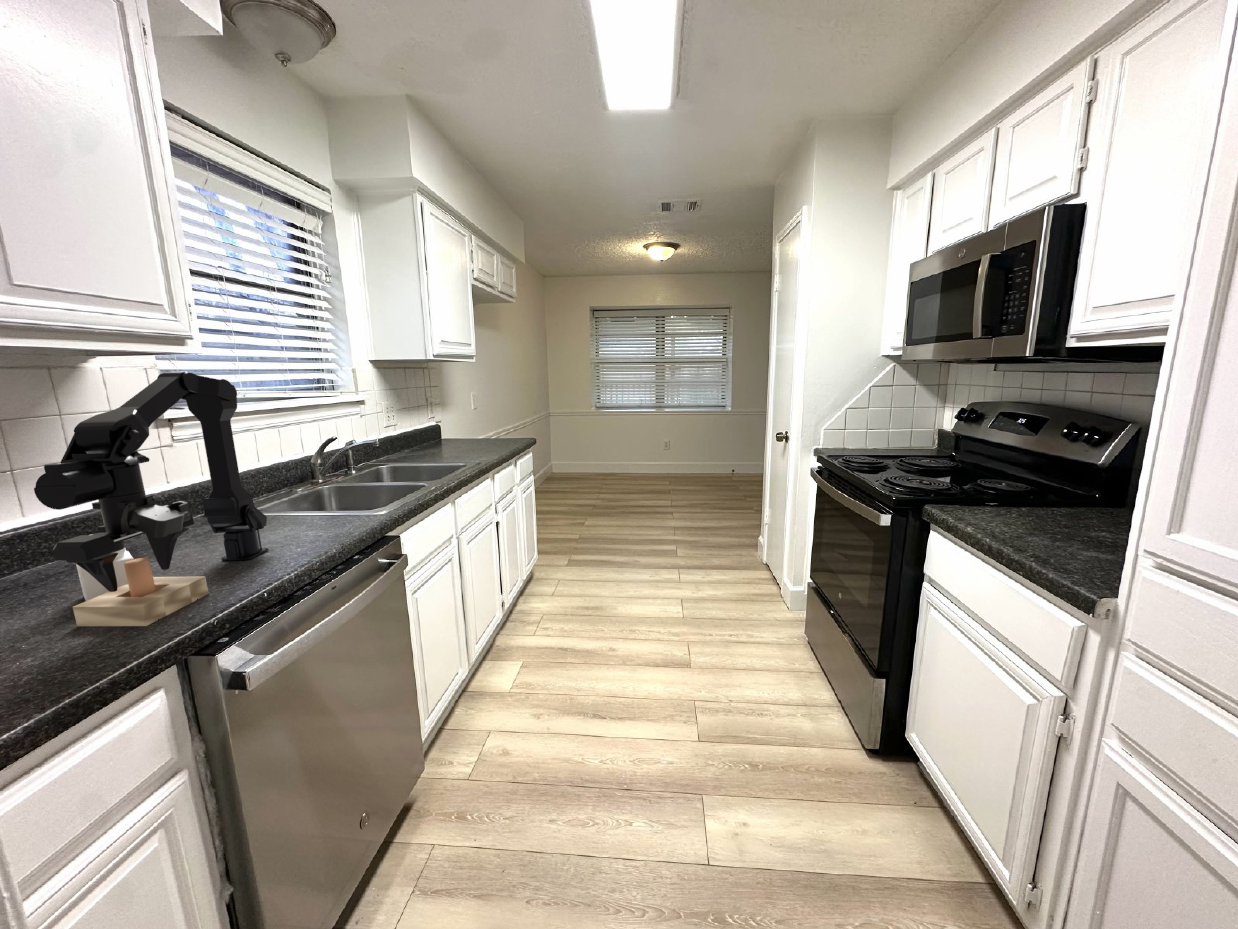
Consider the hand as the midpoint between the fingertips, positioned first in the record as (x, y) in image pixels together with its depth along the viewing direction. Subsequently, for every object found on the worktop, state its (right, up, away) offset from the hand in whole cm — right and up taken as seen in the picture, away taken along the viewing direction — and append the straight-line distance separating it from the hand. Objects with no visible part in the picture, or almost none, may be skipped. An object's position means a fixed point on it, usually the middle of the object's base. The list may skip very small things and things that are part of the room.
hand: (140, 579), depth 87 cm
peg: (0, -5, +1) cm, 6 cm away
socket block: (0, -5, +1) cm, 6 cm away
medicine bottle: (-13, -5, +8) cm, 15 cm away
